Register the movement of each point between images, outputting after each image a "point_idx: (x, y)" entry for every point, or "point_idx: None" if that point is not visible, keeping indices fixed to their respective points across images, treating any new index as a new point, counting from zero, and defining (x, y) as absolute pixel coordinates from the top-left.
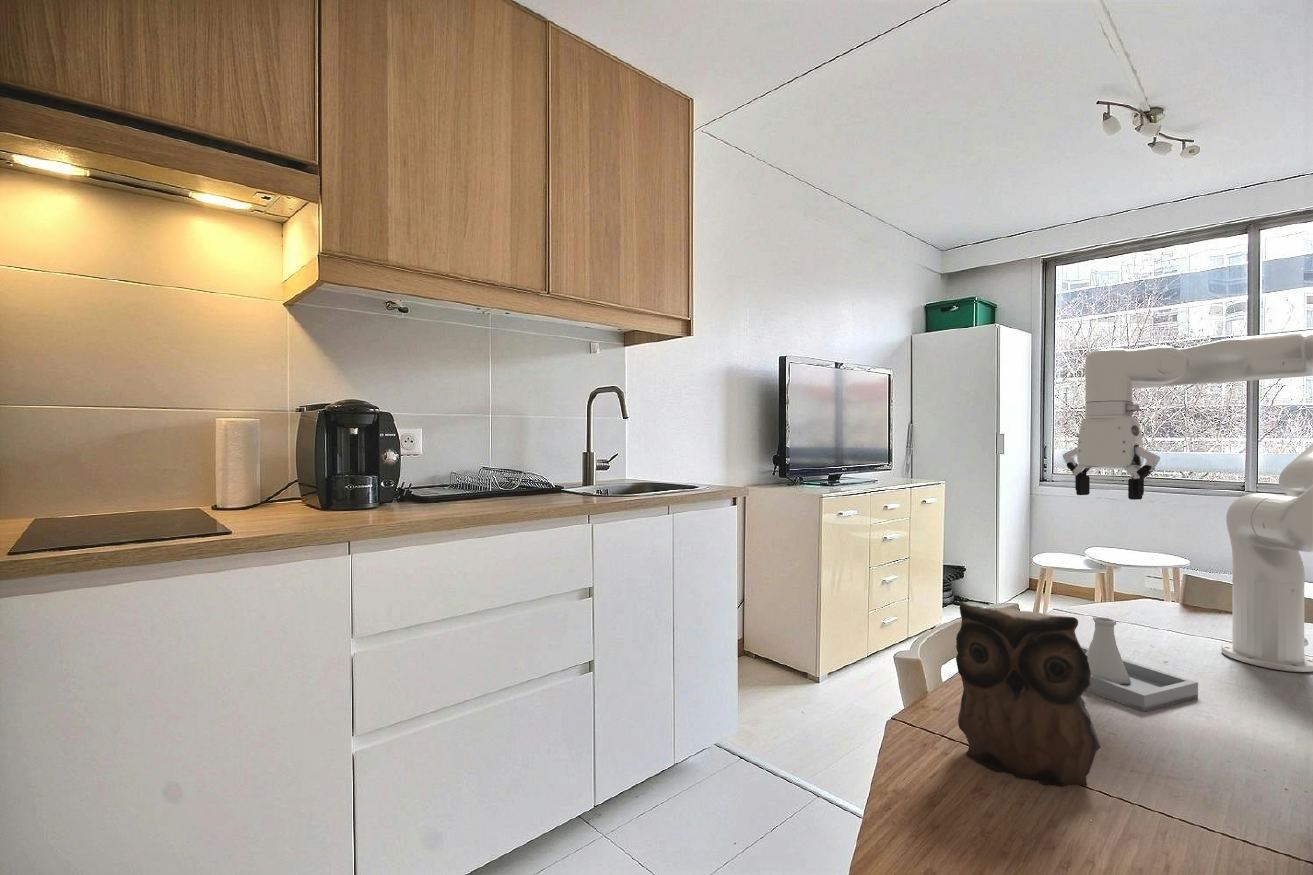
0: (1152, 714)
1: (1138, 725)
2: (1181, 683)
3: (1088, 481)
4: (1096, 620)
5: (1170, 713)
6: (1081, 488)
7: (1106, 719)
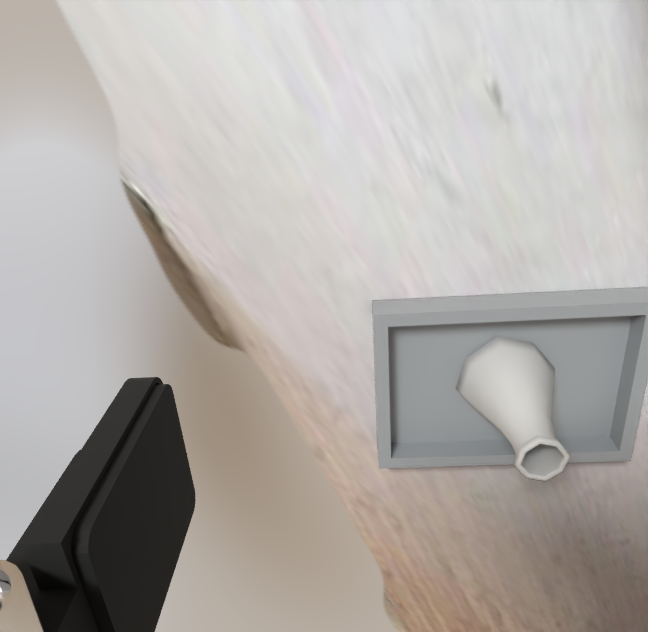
0: None
1: (634, 491)
2: (645, 339)
3: (120, 499)
4: (533, 478)
5: (644, 407)
6: (174, 533)
7: (596, 512)
